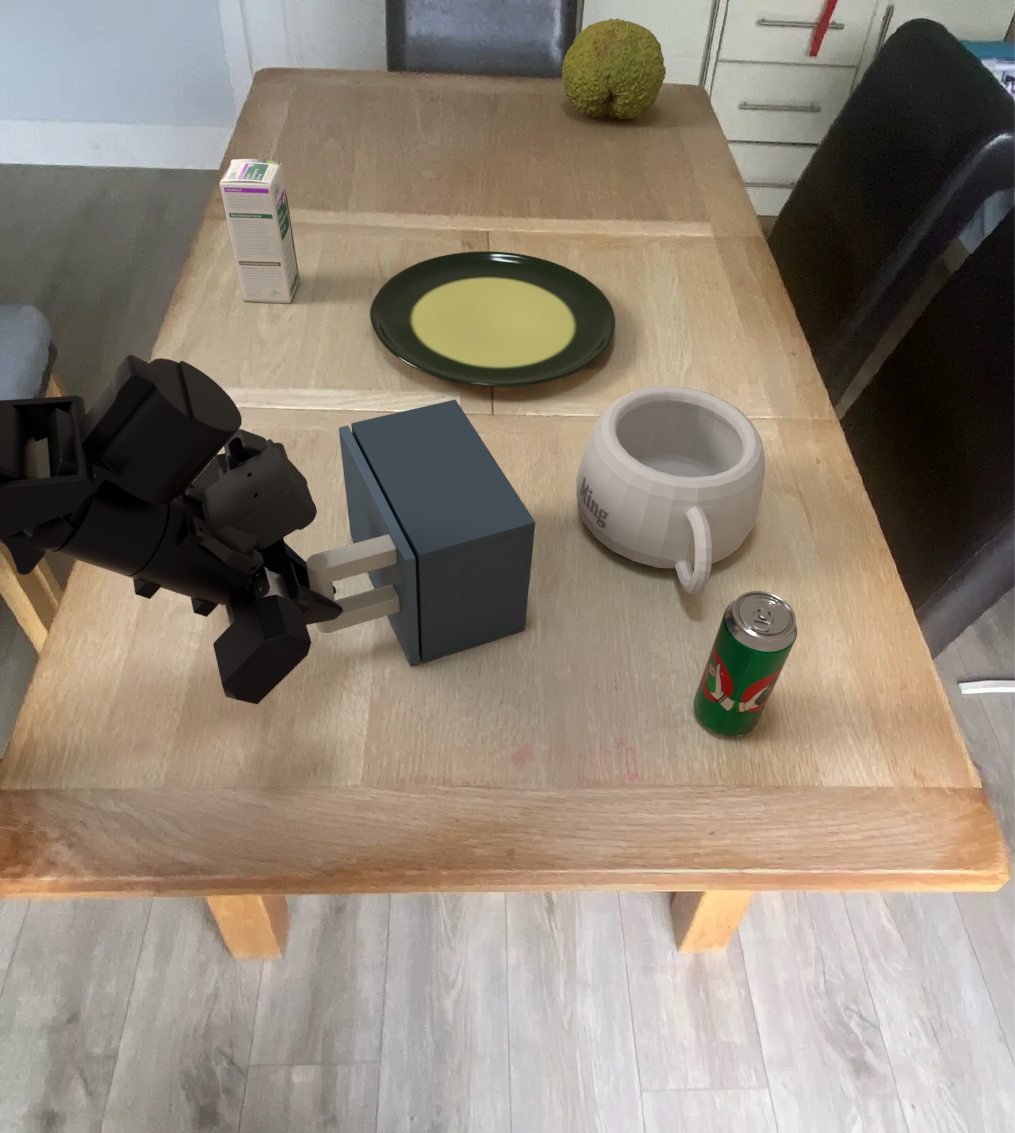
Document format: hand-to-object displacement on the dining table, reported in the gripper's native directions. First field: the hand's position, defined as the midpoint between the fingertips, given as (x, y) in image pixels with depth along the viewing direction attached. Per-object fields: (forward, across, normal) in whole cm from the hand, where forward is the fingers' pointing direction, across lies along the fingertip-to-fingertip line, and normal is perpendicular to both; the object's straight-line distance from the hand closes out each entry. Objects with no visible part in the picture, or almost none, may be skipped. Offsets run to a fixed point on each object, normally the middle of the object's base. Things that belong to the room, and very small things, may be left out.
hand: (335, 603), depth 66 cm
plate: (+25, +41, -15) cm, 50 cm away
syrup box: (+9, +56, +1) cm, 57 cm away
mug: (+28, +5, -17) cm, 33 cm away
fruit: (+54, +95, -44) cm, 118 cm away
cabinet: (+12, +6, -2) cm, 14 cm away
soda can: (+24, -14, -14) cm, 31 cm away
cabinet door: (+6, +5, +4) cm, 9 cm away
